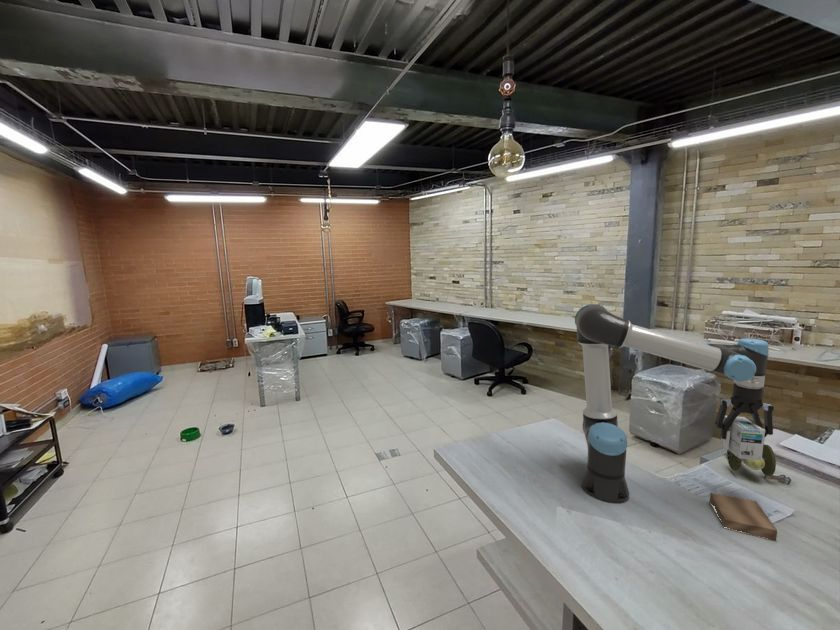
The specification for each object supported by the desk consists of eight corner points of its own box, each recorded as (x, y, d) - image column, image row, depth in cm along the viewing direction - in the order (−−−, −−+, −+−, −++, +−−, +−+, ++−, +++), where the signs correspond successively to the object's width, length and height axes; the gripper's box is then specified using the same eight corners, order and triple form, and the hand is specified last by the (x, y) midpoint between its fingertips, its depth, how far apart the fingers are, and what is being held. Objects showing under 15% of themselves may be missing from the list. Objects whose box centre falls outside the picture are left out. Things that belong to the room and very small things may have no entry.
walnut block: (723, 534, 111) (725, 519, 110) (709, 506, 124) (710, 492, 123) (775, 546, 106) (777, 530, 106) (754, 515, 119) (756, 501, 118)
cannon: (712, 446, 162) (715, 422, 160) (746, 451, 158) (749, 426, 156) (736, 477, 139) (739, 449, 137) (777, 484, 135) (780, 455, 133)
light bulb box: (762, 461, 120) (766, 429, 118) (738, 459, 121) (742, 428, 120) (741, 445, 130) (745, 416, 129) (719, 443, 132) (722, 414, 130)
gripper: (714, 385, 123) (707, 449, 126) (794, 393, 115) (784, 461, 118) (707, 378, 130) (700, 439, 133) (782, 385, 122) (773, 450, 125)
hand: (740, 449), depth 126 cm, fingers closed on light bulb box, 7 cm apart
